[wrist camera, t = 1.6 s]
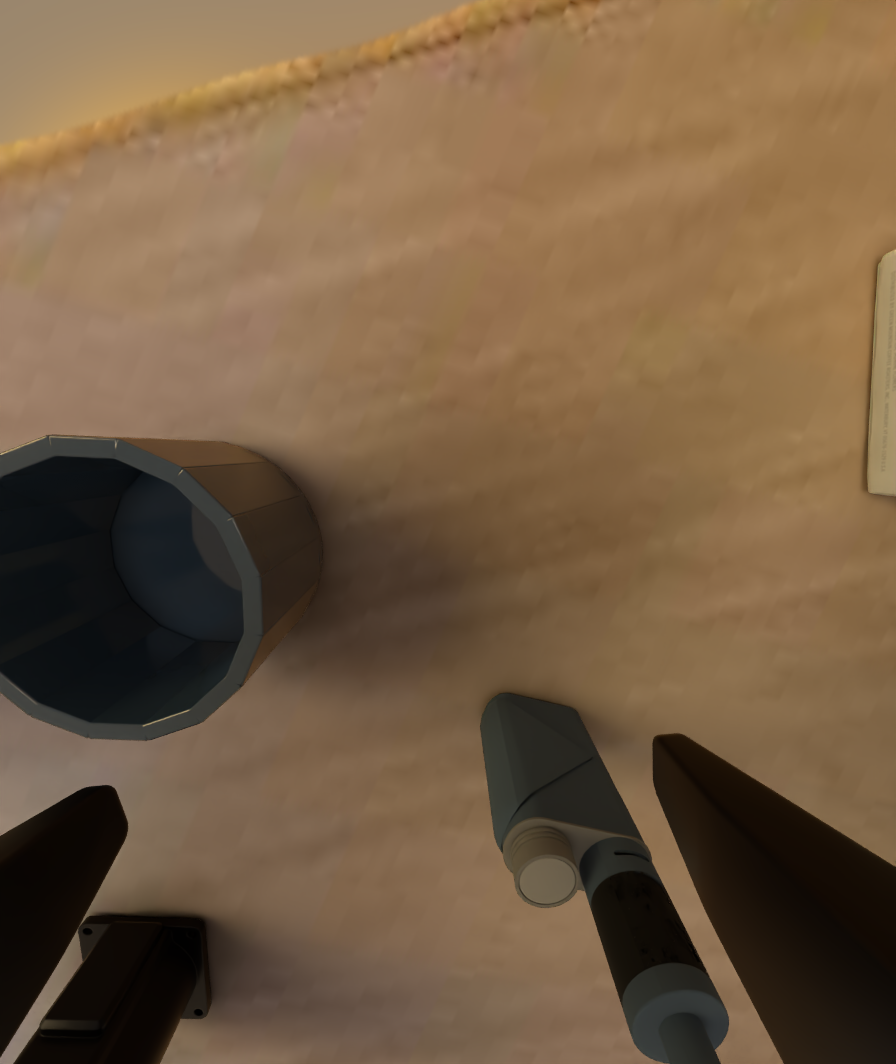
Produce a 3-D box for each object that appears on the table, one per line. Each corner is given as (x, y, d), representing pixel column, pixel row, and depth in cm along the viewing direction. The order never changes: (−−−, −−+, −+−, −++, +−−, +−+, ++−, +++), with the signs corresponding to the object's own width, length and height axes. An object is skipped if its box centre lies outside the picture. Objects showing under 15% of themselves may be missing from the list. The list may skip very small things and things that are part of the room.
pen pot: (324, 651, 20) (267, 746, 13) (120, 643, 20) (-35, 735, 13) (322, 446, 18) (255, 444, 12) (97, 435, 18) (-95, 427, 11)
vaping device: (572, 753, 21) (735, 1137, 9) (472, 730, 21) (510, 1097, 9) (589, 708, 21) (782, 1055, 9) (486, 684, 20) (546, 1009, 8)
